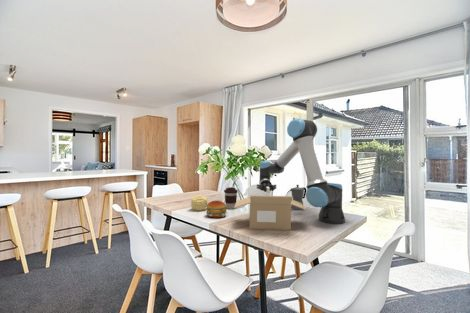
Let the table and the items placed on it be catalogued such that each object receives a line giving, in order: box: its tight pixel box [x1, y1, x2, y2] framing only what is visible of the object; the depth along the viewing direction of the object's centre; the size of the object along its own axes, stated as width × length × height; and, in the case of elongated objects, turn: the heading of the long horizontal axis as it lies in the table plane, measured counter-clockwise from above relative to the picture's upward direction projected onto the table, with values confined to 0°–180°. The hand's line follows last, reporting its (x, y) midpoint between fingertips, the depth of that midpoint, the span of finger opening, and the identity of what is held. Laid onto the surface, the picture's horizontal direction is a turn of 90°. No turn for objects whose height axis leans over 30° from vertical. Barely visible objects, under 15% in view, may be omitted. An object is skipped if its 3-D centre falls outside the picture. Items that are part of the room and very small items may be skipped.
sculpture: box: [190, 194, 208, 212], centre depth 170 cm, size 11×12×11 cm
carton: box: [233, 196, 308, 231], centre depth 140 cm, size 39×27×14 cm
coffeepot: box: [290, 184, 308, 211], centre depth 175 cm, size 15×9×18 cm, turn 118°
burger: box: [205, 200, 228, 219], centre depth 154 cm, size 13×14×10 cm
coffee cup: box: [223, 186, 238, 210], centre depth 176 cm, size 10×10×15 cm
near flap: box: [249, 194, 293, 205], centre depth 123 cm, size 21×9×1 cm
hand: (268, 190), depth 135 cm, fingers closed
